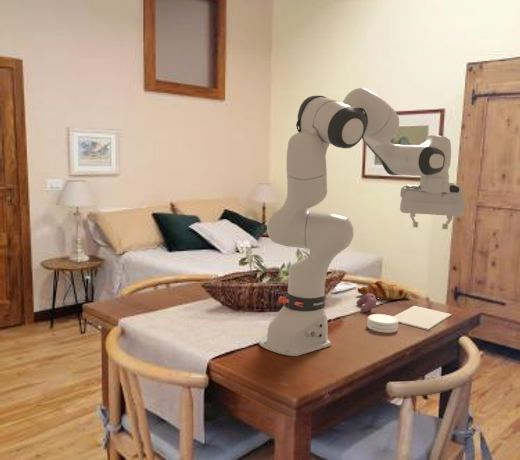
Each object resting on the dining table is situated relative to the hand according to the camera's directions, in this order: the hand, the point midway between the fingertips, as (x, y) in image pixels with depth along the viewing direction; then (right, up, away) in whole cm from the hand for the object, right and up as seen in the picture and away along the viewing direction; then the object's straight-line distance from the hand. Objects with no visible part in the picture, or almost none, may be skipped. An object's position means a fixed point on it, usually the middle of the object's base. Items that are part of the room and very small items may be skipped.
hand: (429, 228), depth 170 cm
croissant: (-6, -28, +37) cm, 47 cm away
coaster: (-16, -33, 0) cm, 37 cm away
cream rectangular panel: (+1, -32, +12) cm, 34 cm away
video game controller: (-17, -30, +20) cm, 40 cm away
